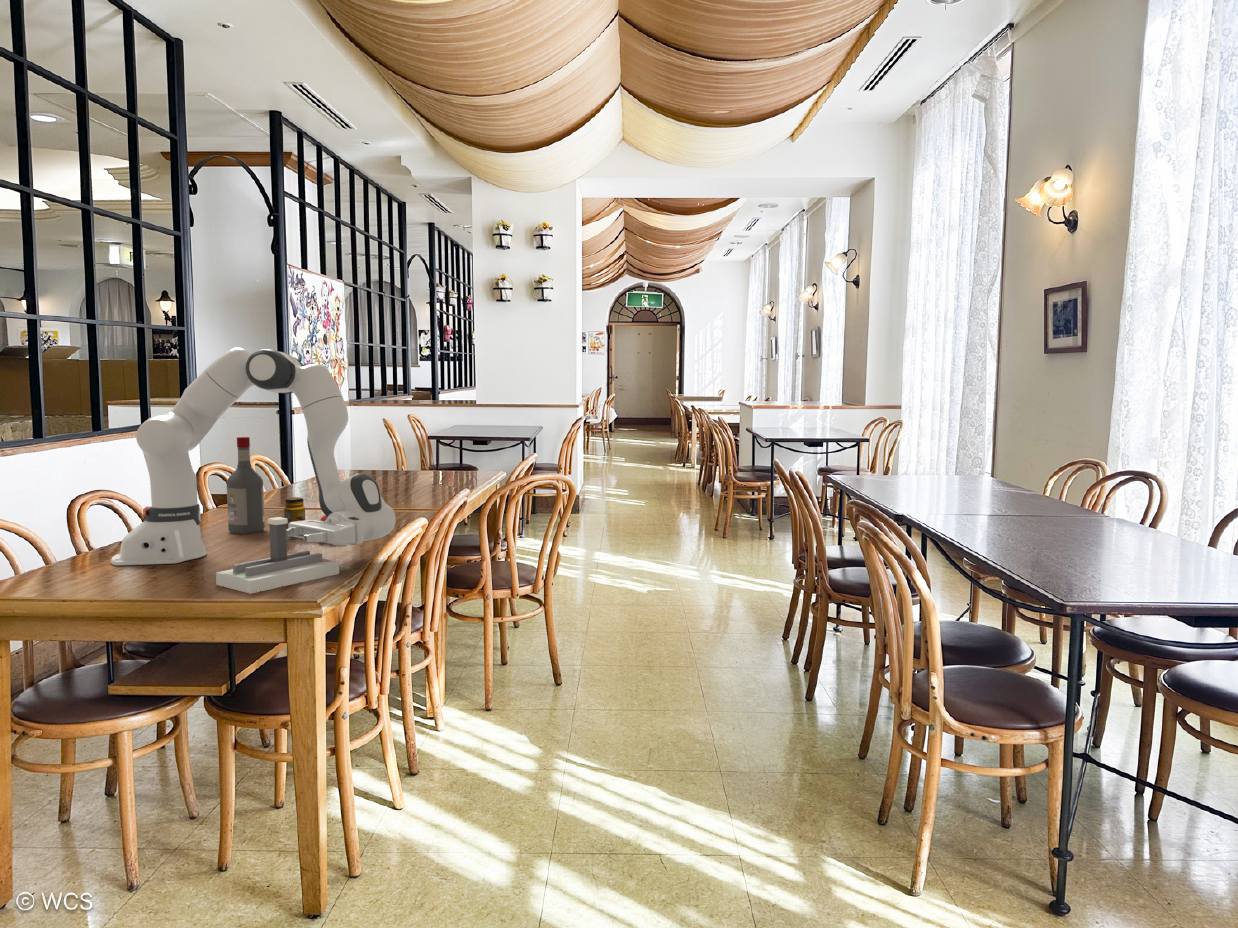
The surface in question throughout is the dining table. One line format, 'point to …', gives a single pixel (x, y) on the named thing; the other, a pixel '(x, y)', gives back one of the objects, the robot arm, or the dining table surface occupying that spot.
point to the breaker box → (276, 572)
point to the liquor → (245, 494)
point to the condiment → (294, 511)
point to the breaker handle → (278, 538)
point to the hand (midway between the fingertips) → (294, 536)
